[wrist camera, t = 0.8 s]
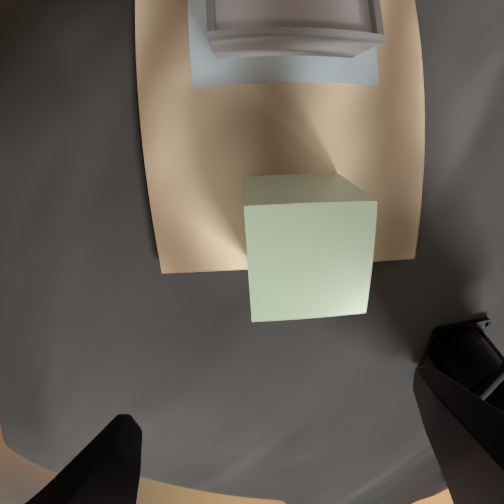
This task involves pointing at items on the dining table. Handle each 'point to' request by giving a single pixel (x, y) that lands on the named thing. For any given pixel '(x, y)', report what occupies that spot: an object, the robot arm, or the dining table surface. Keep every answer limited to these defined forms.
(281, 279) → the sage block
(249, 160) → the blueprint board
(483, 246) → the dining table surface
